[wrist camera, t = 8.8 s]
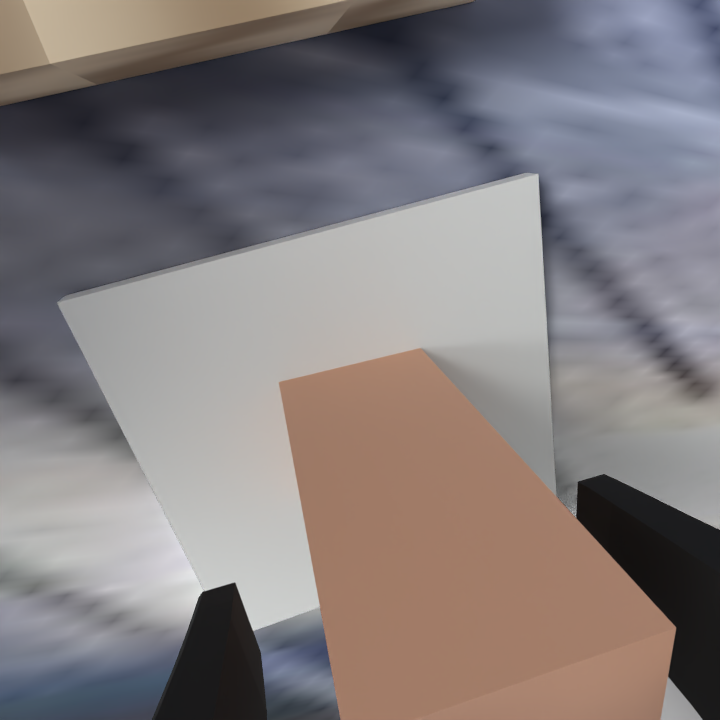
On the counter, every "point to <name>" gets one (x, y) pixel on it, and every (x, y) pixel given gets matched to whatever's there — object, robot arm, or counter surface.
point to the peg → (457, 562)
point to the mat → (314, 363)
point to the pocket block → (160, 35)
